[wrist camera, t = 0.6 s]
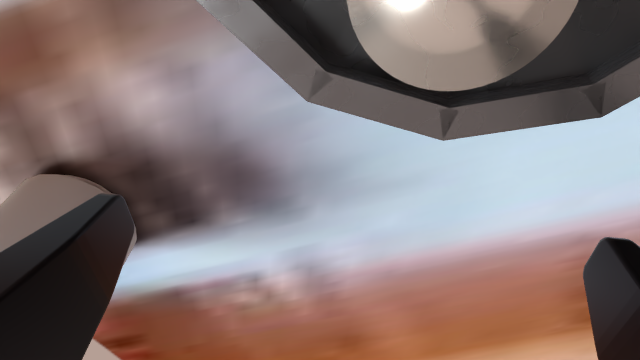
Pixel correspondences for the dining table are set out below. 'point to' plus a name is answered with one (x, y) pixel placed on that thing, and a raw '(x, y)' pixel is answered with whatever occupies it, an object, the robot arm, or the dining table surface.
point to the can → (44, 205)
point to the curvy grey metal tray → (444, 106)
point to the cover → (456, 37)
